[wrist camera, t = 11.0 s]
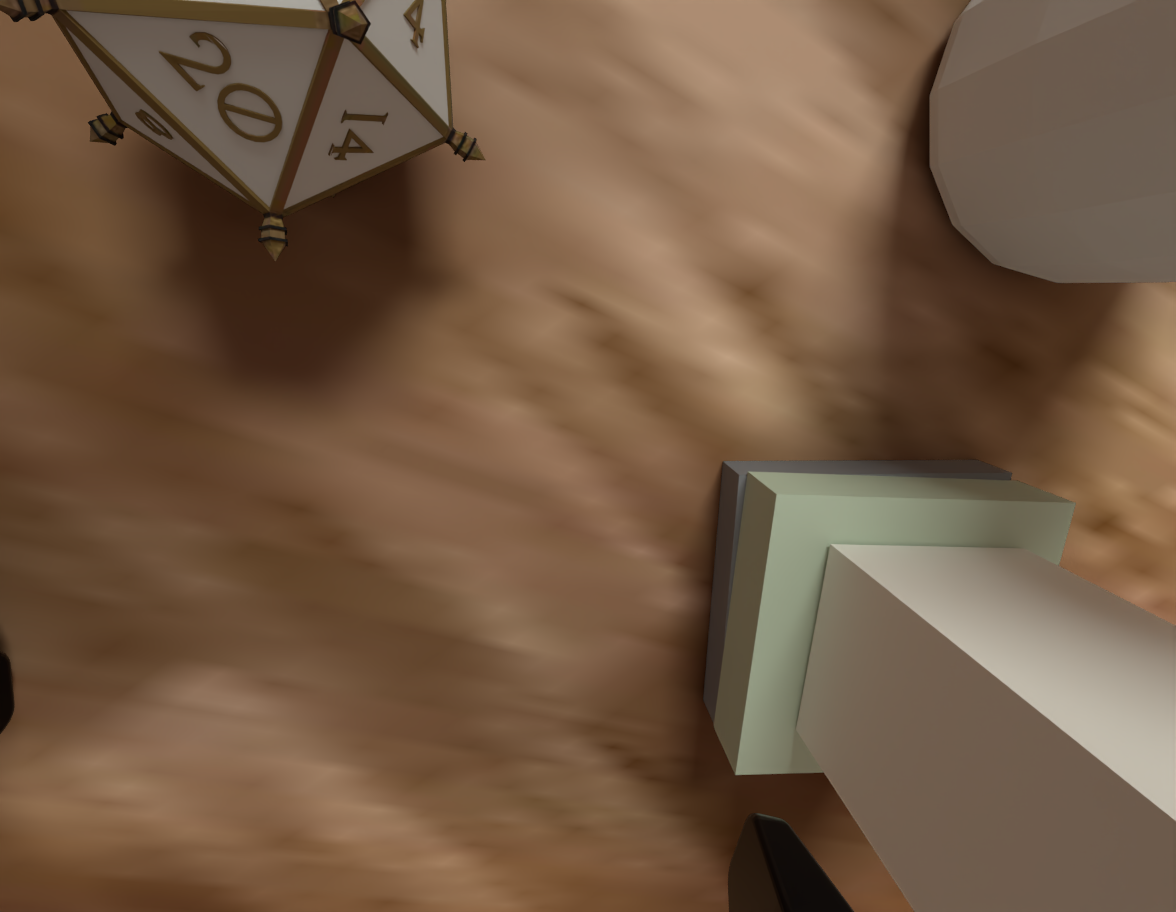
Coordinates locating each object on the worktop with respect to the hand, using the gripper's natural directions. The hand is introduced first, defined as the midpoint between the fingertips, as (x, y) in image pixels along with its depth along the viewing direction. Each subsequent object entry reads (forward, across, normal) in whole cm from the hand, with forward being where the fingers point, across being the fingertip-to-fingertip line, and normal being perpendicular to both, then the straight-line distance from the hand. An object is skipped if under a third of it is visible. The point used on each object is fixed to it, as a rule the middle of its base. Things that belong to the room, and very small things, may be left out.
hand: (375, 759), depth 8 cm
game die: (+13, +7, -9) cm, 17 cm away
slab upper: (+13, -12, +3) cm, 18 cm away
